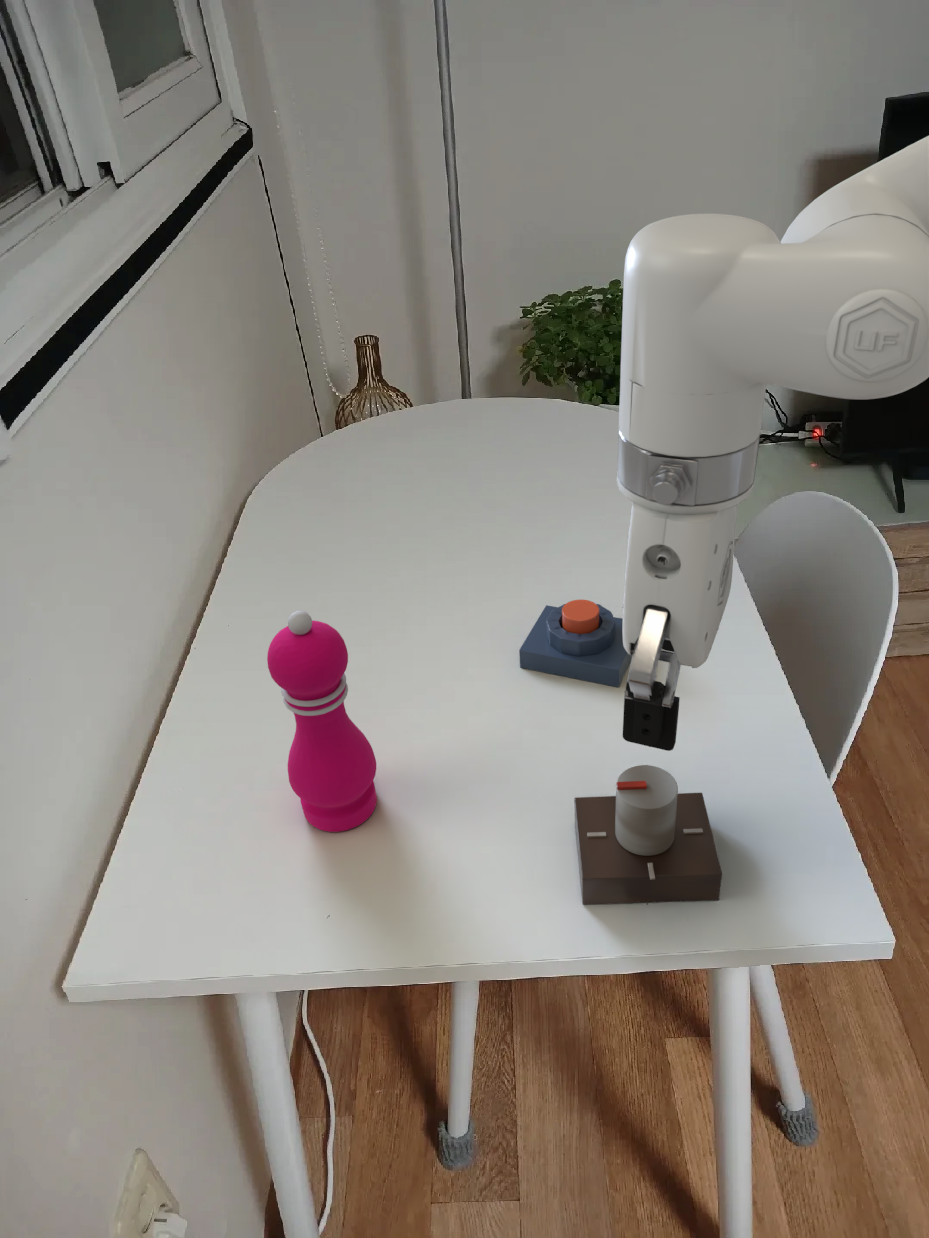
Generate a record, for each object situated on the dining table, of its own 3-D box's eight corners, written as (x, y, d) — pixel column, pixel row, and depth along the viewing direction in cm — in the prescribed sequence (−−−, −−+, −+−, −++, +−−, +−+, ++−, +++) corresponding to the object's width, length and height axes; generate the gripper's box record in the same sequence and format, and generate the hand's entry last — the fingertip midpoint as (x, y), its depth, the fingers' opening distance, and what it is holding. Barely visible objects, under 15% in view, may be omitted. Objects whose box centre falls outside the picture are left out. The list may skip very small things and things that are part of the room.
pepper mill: (303, 847, 77) (252, 652, 66) (293, 786, 83) (244, 597, 71) (390, 824, 78) (355, 629, 67) (374, 766, 84) (338, 577, 73)
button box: (640, 639, 96) (641, 606, 94) (618, 687, 90) (619, 654, 88) (546, 622, 100) (545, 590, 97) (519, 667, 94) (518, 635, 92)
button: (603, 617, 94) (603, 602, 93) (593, 638, 91) (593, 623, 90) (568, 610, 95) (568, 596, 94) (557, 631, 92) (556, 617, 91)
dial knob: (669, 810, 73) (673, 760, 70) (678, 855, 70) (682, 804, 67) (612, 812, 74) (613, 762, 71) (618, 857, 70) (619, 807, 67)
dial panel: (698, 815, 77) (701, 787, 75) (720, 903, 70) (723, 875, 68) (574, 820, 77) (573, 792, 75) (582, 908, 70) (582, 880, 68)
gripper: (725, 548, 45) (696, 800, 55) (779, 404, 58) (747, 630, 68) (573, 524, 48) (572, 769, 58) (656, 391, 60) (643, 611, 70)
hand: (667, 694), depth 63 cm, fingers open, 9 cm apart
